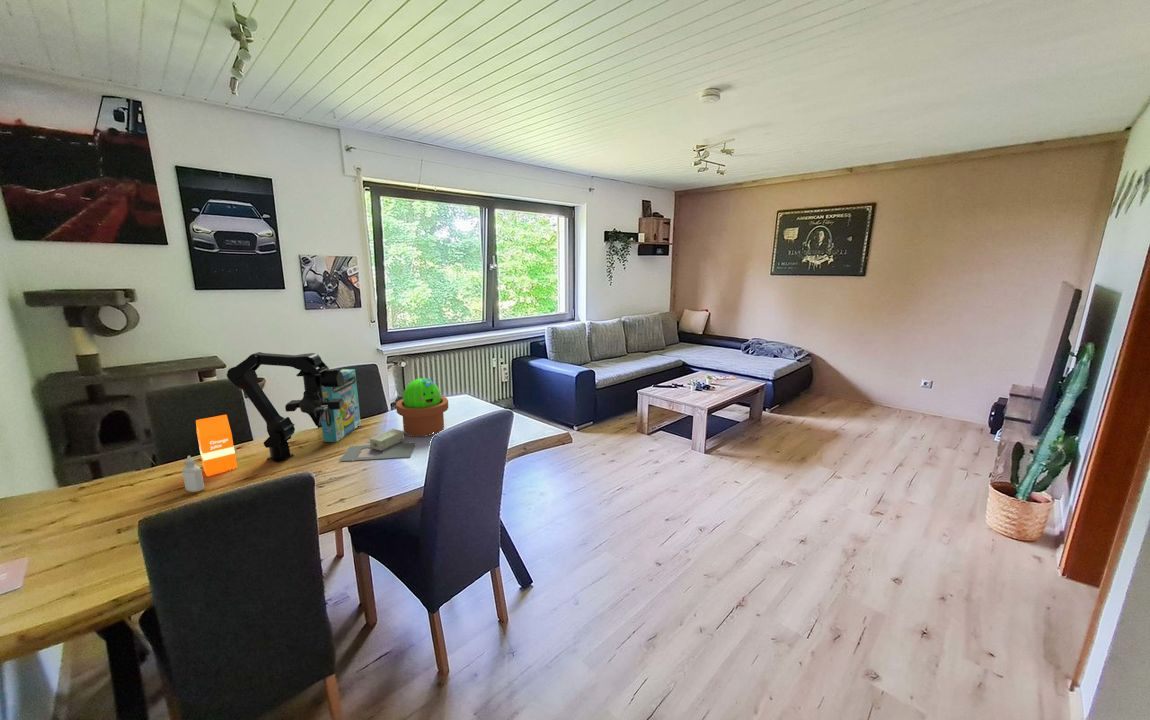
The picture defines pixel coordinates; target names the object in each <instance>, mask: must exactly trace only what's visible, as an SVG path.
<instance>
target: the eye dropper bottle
mask: <svg viewBox="0 0 1150 720" xmlns="http://www.w3.org/2000/svg"><path fill="white" fill-rule="evenodd" d="M195 459H196V458H192V457H191V455H188V456H187V458H186V459H185V461H184V465H185V467H183V468H182V471H181V473H182V479H183V482H184V489H185V491H186V492H190V493H197V492H200V491H202V490H204V489H205V484H204V478H203V477H204V476H203V473H202V468H201V467H199V465H196V460H195Z"/></svg>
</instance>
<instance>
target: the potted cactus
mask: <svg viewBox="0 0 1150 720" xmlns="http://www.w3.org/2000/svg"><path fill="white" fill-rule="evenodd" d="M395 405H396V406H395V408H396V414H398V415H399V416H401V417H402V424H403V425H402V426H403V433H404V434H405V435H407V436H410V437H416V436H421V437H426V436H425V435H429V434H432V433H433V432H434V434H432V435H436V434H438V433H440V432H442V431H443V430H444V429H443V427H444V428H445V419H444V415H445V414H444V413H445V412H446V411H448V410H449V399H448V398H447V397H445V396H443V395H442V393H441V391H440V389H439V386H437V384H436V383H435V382H434V381H432V379H431V378H429V377H425V378H424V377H423V378H422V377H421V378H420V377H418V378H416V379H412V380H411V381H410V382H409V383H407V385H406V387H405V389H404V391H403V394H402V399H399V400H398V401H396V403H395ZM441 430H442V431H441ZM439 431H440V432H439ZM437 432H438V433H437ZM432 435H431V436H432ZM429 436H430V435H429Z"/></svg>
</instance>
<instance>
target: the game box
mask: <svg viewBox="0 0 1150 720" xmlns="http://www.w3.org/2000/svg"><path fill="white" fill-rule="evenodd" d="M340 372H341V373H342V374H343V376H344V383H343V385H342V387H324V386H322V387H323V389H324V390H323V397H324V398H325V400H324V402H329V401H330V400H332V399H337V398H342V399H343V400H344V405H343V406H342V407H341V408H340V409H335V410H330V409H329V408H328V409H326V410H325V411H324V413H323V416H322V419H321V422H320V426H321V433H322V440H323V441H322V442H323V443H337V442H339V441H340V440H342V439H344V438H345V437H346V436H347V435H349V434H350V433H351V432H353V431H355V430H356V429H357V428H359V427H360V426H361V425H362V424H361V415H360V404H359V402H360V401H359V394H358V393H359V392H358V386H357V375H356V374H357V373H356V369H352V368H351V369H350V368H349V369H348V368H344V369H343V368H342V369H340ZM358 426H359V427H358Z"/></svg>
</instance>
